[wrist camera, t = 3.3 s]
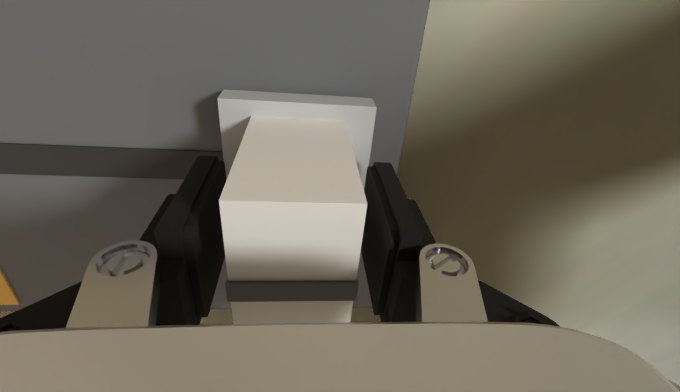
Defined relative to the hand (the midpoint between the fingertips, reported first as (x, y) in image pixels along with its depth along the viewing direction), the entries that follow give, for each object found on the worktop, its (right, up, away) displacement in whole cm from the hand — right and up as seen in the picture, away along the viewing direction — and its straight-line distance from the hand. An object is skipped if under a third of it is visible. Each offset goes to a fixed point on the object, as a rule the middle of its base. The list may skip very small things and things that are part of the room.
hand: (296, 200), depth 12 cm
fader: (0, +1, +2) cm, 2 cm away
